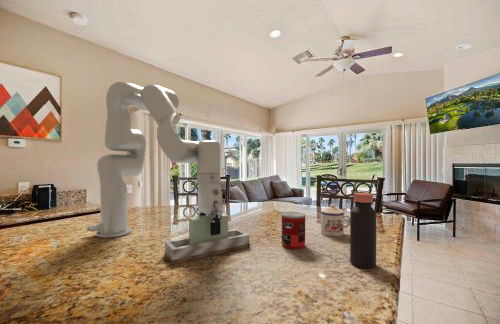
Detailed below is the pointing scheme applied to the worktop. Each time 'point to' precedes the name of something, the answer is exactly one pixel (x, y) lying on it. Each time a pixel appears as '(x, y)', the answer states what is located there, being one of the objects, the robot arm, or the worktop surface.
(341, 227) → the teacup with lid
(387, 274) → the worktop surface
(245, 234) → the grey stone tray
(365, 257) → the bottle
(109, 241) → the worktop surface
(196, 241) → the pale green block
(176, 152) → the robot arm
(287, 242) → the canned food
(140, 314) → the worktop surface
